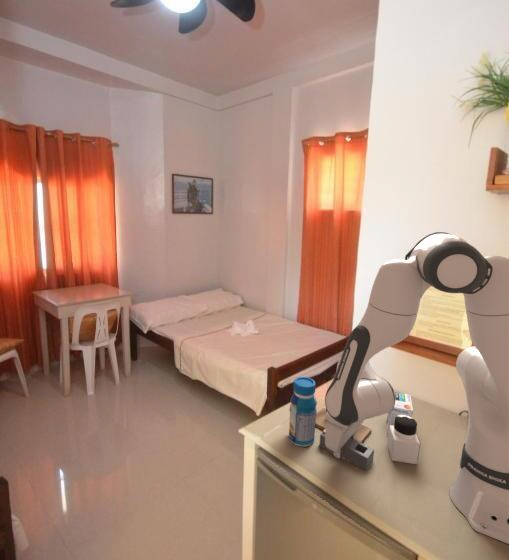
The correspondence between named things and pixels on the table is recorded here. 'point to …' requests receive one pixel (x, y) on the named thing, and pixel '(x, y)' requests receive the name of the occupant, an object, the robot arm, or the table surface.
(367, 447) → the grey block with holes
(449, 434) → the table surface
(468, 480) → the robot arm
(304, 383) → the beverage bottle
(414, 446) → the medicine bottle
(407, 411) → the light bulb box
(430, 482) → the table surface
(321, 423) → the board
